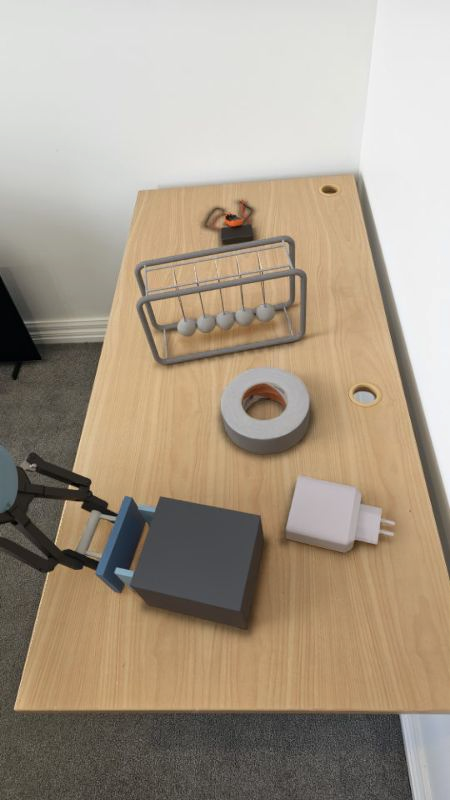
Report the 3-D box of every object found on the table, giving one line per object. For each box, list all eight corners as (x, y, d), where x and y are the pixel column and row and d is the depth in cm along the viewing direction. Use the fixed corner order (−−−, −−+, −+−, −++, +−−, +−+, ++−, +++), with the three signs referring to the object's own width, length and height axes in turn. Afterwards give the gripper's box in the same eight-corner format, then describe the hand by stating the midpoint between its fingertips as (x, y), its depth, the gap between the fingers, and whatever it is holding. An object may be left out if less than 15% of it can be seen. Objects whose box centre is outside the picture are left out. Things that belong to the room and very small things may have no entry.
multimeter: (207, 202, 129) (205, 190, 127) (253, 198, 128) (252, 186, 125) (203, 246, 119) (200, 234, 116) (253, 243, 118) (252, 230, 115)
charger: (388, 565, 72) (285, 540, 76) (394, 507, 77) (298, 486, 80) (393, 554, 68) (285, 528, 72) (400, 493, 73) (298, 472, 77)
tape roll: (207, 409, 91) (203, 393, 87) (275, 369, 95) (274, 352, 91) (255, 470, 83) (253, 456, 79) (327, 424, 87) (329, 408, 82)
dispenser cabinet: (148, 605, 72) (129, 585, 64) (174, 524, 79) (159, 495, 71) (246, 630, 69) (239, 611, 60) (264, 542, 76) (260, 515, 67)
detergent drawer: (83, 584, 74) (61, 565, 67) (111, 513, 81) (93, 489, 73) (201, 612, 70) (191, 596, 63) (221, 535, 76) (214, 512, 69)
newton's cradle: (294, 304, 104) (294, 232, 90) (306, 340, 98) (307, 269, 84) (153, 329, 105) (131, 262, 90) (156, 367, 99) (132, 301, 84)
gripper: (-8, 421, 73) (125, 490, 82) (-86, 551, 62) (77, 613, 71) (6, 406, 67) (147, 481, 76) (-77, 545, 57) (99, 613, 66)
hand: (113, 545), depth 74 cm, fingers closed on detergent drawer, 7 cm apart
